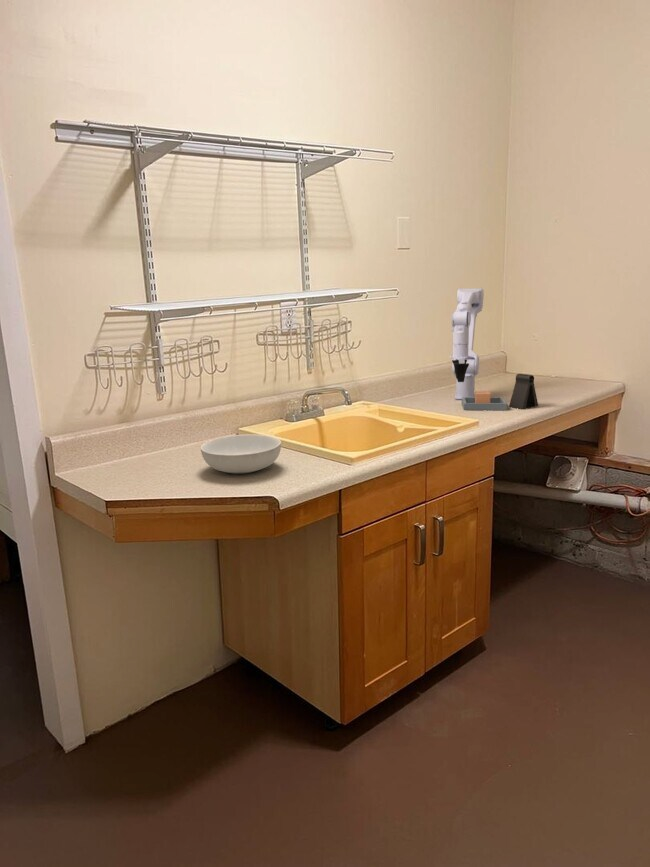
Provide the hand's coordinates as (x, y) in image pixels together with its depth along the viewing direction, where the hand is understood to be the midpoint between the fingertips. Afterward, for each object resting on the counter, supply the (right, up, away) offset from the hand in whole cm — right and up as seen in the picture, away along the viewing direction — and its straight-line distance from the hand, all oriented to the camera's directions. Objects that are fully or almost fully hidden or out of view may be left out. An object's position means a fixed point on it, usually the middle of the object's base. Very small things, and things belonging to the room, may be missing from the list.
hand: (459, 380), depth 246 cm
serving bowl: (-72, -29, -73) cm, 107 cm away
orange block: (+8, -10, -3) cm, 13 cm away
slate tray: (+8, -10, -3) cm, 13 cm away
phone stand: (+23, -10, -4) cm, 25 cm away
